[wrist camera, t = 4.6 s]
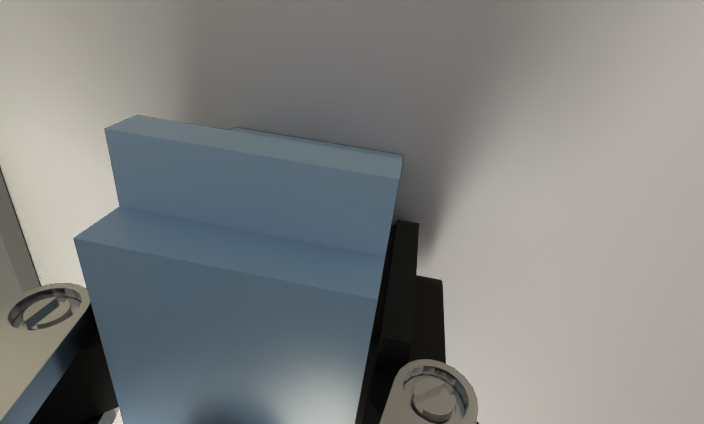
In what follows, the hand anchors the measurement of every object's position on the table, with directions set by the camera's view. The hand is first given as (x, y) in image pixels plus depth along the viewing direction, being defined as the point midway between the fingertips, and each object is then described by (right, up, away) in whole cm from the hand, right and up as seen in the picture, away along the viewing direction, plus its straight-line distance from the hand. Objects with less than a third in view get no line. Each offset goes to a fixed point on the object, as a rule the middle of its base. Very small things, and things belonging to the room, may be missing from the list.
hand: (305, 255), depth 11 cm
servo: (0, 0, 0) cm, 0 cm away
